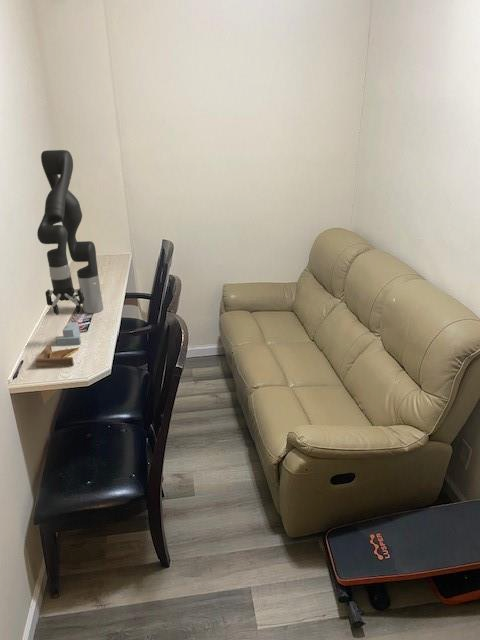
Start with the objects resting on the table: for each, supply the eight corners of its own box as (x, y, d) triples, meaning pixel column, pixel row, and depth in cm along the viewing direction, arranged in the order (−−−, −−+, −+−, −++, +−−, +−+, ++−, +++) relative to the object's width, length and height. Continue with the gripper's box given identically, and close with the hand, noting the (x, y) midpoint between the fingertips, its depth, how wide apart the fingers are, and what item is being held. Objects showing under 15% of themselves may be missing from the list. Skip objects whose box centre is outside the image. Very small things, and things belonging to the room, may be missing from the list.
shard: (79, 350, 186) (79, 346, 185) (79, 359, 179) (78, 354, 179) (50, 355, 183) (49, 350, 183) (49, 363, 176) (48, 359, 176)
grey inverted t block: (64, 335, 199) (62, 322, 196) (86, 334, 199) (83, 321, 197) (57, 345, 190) (55, 332, 188) (80, 344, 190) (77, 331, 188)
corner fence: (48, 352, 185) (46, 345, 183) (81, 350, 185) (80, 343, 184) (37, 367, 173) (35, 360, 171) (72, 366, 173) (71, 358, 172)
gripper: (81, 272, 188) (88, 309, 194) (45, 273, 187) (53, 310, 194) (76, 278, 181) (83, 316, 188) (39, 279, 180) (47, 318, 187)
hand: (68, 313), depth 191 cm, fingers open, 8 cm apart
